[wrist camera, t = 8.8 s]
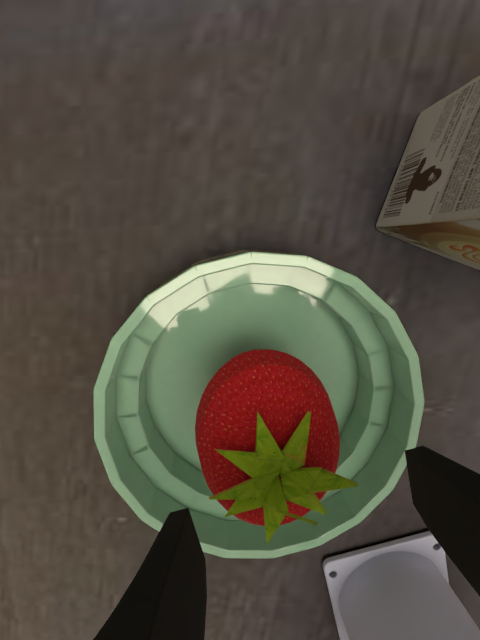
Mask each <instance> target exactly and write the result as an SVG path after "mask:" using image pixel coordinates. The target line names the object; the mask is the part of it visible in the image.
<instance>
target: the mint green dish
mask: <svg viewBox="0 0 480 640" xmlns="http://www.w3.org/2000/svg"><path fill="white" fill-rule="evenodd" d="M254 349H270V350H276V351H281V352H285V353H288V354H290V355H292V356H294V357H296V358H298V359H300V360H301V361H302V362H303V363H305V364H306V365H307V366H308V367H309V368H311V369H312V370H313V372H314V373H315V374H316V375H317V377H318V378H319V379H320V380H321V382H322V384H323V386H324V388H325V390H326V391H327V393H328V395H329V398H330V401H331V404H332V407H333V410H334V413H335V416H336V420H337V423H338V428H339V436H340V453H339V460H338V465H337V469H336V473H335V474H338V475H340V476H342V477H345V478H347V479H350V480H352V481H354V482H357V483H358V486H357V487H350V488H344V489H337V490H330V491H327V492H326V493H325V495H324V497H323V498H322V499H321V500H320V502H321V504H322V505H323V507H324V508H325V509H326V511H327V512H326V515H324V514H322V513H319V512H317V511H314V510H310V511H309V512H308V513H306V514H305V515H304V516H303V518H306V519H310V520H313V521H316V522H318V524H317V525H313V524H311V523H308V522H305V521H302V520H299V519H297V520H294V521H292V522H290V523H287V524H283V525H279V527H278V528H277V530H276V531H275V533H274V534H273V536H272V538H271V539H270V541H269V542H268V544H267V545H266V533H265V526H260V525H254V524H250V523H248V522H245V521H243V520H241V519H238V518H237V517H235V516H234V515H231V516H227V517H224V516H225V515H226V514H227V512H228V511H227V510H226V509H225V508H224V507H223V506H222V505H221V504H220V503H219V502H218V501H217V500H209V497H211V496H213V494H212V492H211V491H210V489H209V487H208V485H207V483H206V480H205V478H204V475H203V472H202V468H201V464H200V460H199V455H198V451H197V447H196V438H195V423H196V414H197V409H198V406H199V403H200V399H201V396H202V394H203V392H204V390H205V388H206V386H207V384H208V383H209V381H210V380H211V379H212V377H213V376H214V375H215V374H216V372H217V371H218V370H219V369H220V368H221V367H222V366H223V365H224V364H225V363H227V362H228V361H229V360H230V359H231V358H233V357H234V356H236V355H238V354H240V353H242V352H245V351H249V350H254ZM423 409H424V394H423V387H422V379H421V372H420V364H419V357H418V354H417V352H416V350H415V348H414V346H413V345H412V343H411V341H410V339H409V337H408V335H407V333H406V331H405V329H404V327H403V325H402V323H401V321H400V319H399V318H398V316H397V314H396V313H395V311H394V310H393V309H392V308H391V307H390V306H389V305H387V304H386V303H385V302H384V301H383V300H382V299H381V298H380V297H379V296H378V295H377V294H376V293H374V292H373V291H372V290H371V289H370V288H369V287H368V286H367V285H366V284H365V283H364V282H363V281H361V280H360V279H359V278H357V277H356V276H354V275H352V274H349V273H347V272H345V271H342V270H340V269H338V268H335V267H333V266H331V265H328V264H326V263H324V262H321V261H319V260H317V259H314V258H312V257H310V256H306V255H300V254H294V253H289V252H277V251H264V250H250V249H244V250H243V249H241V250H237V251H233V252H229V253H225V254H221V255H217V256H213V257H209V258H205V259H201V260H199V261H196V262H195V263H193V264H192V265H190V266H188V267H187V268H185V269H184V270H182V271H180V272H179V273H177V274H176V275H174V276H173V277H171V278H169V279H168V280H166V281H165V282H163V283H162V284H160V285H159V286H158V287H157V288H155V289H154V290H153V291H152V292H151V293H149V294H148V295H147V296H146V297H145V298H144V299H143V300H142V302H141V303H140V304H139V305H138V307H137V308H136V309H135V310H134V312H133V313H132V314H131V315H130V317H129V318H128V319H127V320H126V321H125V323H124V324H123V325H122V326H121V328H120V329H119V330H118V331H117V333H116V334H115V335H114V336H113V338H112V340H111V341H110V344H109V347H108V349H107V352H106V355H105V358H104V361H103V364H102V366H101V369H100V372H99V375H98V378H97V381H96V384H95V386H94V439H95V443H96V445H97V448H98V451H99V453H100V456H101V459H102V461H103V464H104V467H105V469H106V472H107V475H108V477H109V480H110V483H111V484H112V486H113V487H114V488H115V490H116V491H117V492H118V493H119V494H120V496H121V497H122V498H123V499H124V500H125V502H126V503H127V504H128V505H129V506H130V508H131V509H132V510H133V511H134V512H135V514H136V515H137V516H138V517H139V518H140V520H142V521H143V522H144V523H146V524H148V525H149V526H151V527H152V528H154V529H156V530H157V531H159V532H160V530H161V528H162V526H163V524H164V522H165V520H166V519H167V517H168V515H169V513H170V512H174V511H178V510H181V509H185V508H189V511H190V514H191V517H192V520H193V523H194V526H195V529H196V532H197V535H198V538H199V541H200V545H201V548H202V551H203V552H205V553H209V554H212V555H216V556H220V557H223V558H226V557H227V558H277V557H281V556H284V555H288V554H292V553H296V552H299V551H303V550H307V549H311V548H315V547H318V546H321V545H322V544H324V543H326V542H328V541H329V540H331V539H333V538H335V537H336V536H338V535H340V534H342V533H343V532H345V531H347V530H349V529H350V528H352V527H354V526H356V525H357V524H359V522H362V521H363V520H364V519H365V518H366V517H367V516H368V515H369V514H370V513H371V512H372V511H373V510H374V509H375V508H376V507H377V506H378V504H379V503H380V502H381V501H382V500H383V499H384V498H385V497H386V496H387V495H388V494H389V493H390V492H391V491H392V490H393V489H394V487H395V486H396V484H397V482H398V480H399V478H400V476H401V475H402V473H403V471H404V469H405V467H406V466H407V462H406V456H405V450H409V449H413V448H416V444H417V439H418V434H419V429H420V424H421V419H422V414H423Z"/></svg>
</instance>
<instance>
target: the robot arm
mask: <svg viewBox="0 0 480 640" xmlns="http://www.w3.org/2000/svg"><path fill="white" fill-rule="evenodd" d="M405 456H406V462H407V468H408V475H409V481H410V487H411V493H412V499H413V504H414V506H415V508H416V509H417V511H418V513H419V514H420V516H421V518H422V519H423V521H424V522H425V524H426V526H427V527H428V529H429V530H430V531H427V532H423V533H419V534H415V535H412V536H408V537H404V538H400V539H396V540H393V541H389V542H385V543H381V544H378V545H374V546H370V547H366V548H363V549H359V550H355V551H351V552H347V553H344V554H340V555H336V556H332V557H329V558H326V559H325V560H324V561H323V570H324V574H325V578H326V582H327V587H328V591H329V595H330V600H331V604H332V608H333V613H334V617H335V621H336V625H337V630H338V634H339V638H340V640H480V630H479V628H478V627H477V625H476V624H475V622H474V621H473V619H472V618H471V616H470V615H469V613H468V612H467V610H466V609H465V608H464V606H463V605H462V603H461V602H460V600H459V599H458V597H457V596H456V594H455V593H454V591H453V590H452V588H451V587H450V585H449V579H448V572H447V564H446V557H445V552H446V553H447V555H448V556H449V557H450V559H451V560H452V561H453V563H454V564H455V565H456V566H457V568H458V569H459V570H460V572H461V573H462V574H463V575H464V577H465V578H466V579H467V581H468V582H469V583H470V584H471V586H472V587H473V588H474V590H475V591H476V592H477V593H478V595H479V596H480V474H478V473H476V472H474V471H472V470H470V469H468V468H466V467H464V466H462V465H460V464H458V463H456V462H454V461H452V460H450V459H448V458H446V457H444V456H442V455H440V454H439V453H437V452H435V451H433V450H431V449H429V448H426V447H424V446H420V447H416V448H413V449H409V450H405ZM332 571H333V572H332ZM206 599H207V588H206V565H205V557H204V554H203V551H202V548H201V545H200V541H199V538H198V535H197V532H196V529H195V526H194V523H193V520H192V517H191V514H190V511H189V508H185V509H181V510H178V511H174V512H170V513H169V515H168V517H167V519H166V520H165V522H164V524H163V526H162V528H161V530H160V532H159V534H158V536H157V538H156V540H155V541H154V543H153V545H152V547H151V549H150V551H149V553H148V554H147V556H146V558H145V560H144V562H143V563H142V565H141V567H140V569H139V570H138V572H137V574H136V576H135V577H134V579H133V581H132V582H131V584H130V586H129V587H128V589H127V590H126V592H125V594H124V595H123V597H122V599H121V600H120V602H119V603H118V605H117V606H116V608H115V609H114V611H113V612H112V614H111V615H110V617H109V618H108V620H107V621H106V623H105V624H104V626H103V627H102V628H101V630H100V631H99V633H98V634H97V635H96V637H95V638H94V639H93V640H204V633H205V616H206Z"/></svg>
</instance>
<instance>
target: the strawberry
mask: <svg viewBox="0 0 480 640" xmlns="http://www.w3.org/2000/svg"><path fill="white" fill-rule="evenodd" d="M195 438H196V447H197V451H198V455H199V460H200V464H201V468H202V472H203V475H204V478H205V480H206V483H207V485H208V487H209V489H210V491H211V492H212V494H213V496H211V497H209V500H217V501H218V502H219V503H220V504H221V505H222V506H223V507H224V508H225V509H226V510H227V511H228V512H227V514H226V515H225V516H224V517H227V516H231V515H234V516H235V517H237V518H238V519H241V520H243V521H245V522H248V523H250V524H254V525H260V526H265V533H266V545H267V544H268V542H269V541H270V539H271V538H272V536H273V534H274V533H275V531H276V530H277V528H278V527H279V525H283V524H287V523H290V522H292V521H294V520H297V519H299V520H302V521H305V522H308V523H311V524H313V525H317V524H318V522H316V521H313V520H310V519H306V518H303V516H304V515H305V514H306V513H308V512H309V511H310V510H314V511H317V512H319V513H322V514H324V515H326V512H327V511H326V509H325V508H324V507H323V505H322V504H321V502H320V500H321V499H322V498H323V497H324V495H325V493H326V492H327V491H330V490H337V489H344V488H350V487H357V486H358V483H357V482H354V481H352V480H350V479H347V478H345V477H342V476H340V475H338V474H335V473H336V469H337V465H338V460H339V453H340V436H339V428H338V423H337V420H336V416H335V413H334V410H333V407H332V404H331V401H330V398H329V395H328V393H327V391H326V390H325V388H324V386H323V384H322V382H321V380H320V379H319V378H318V377H317V375H316V374H315V373H314V372H313V370H312V369H311V368H309V367H308V366H307V365H306V364H305V363H303V362H302V361H301V360H300V359H298V358H296V357H294V356H292V355H290V354H288V353H285V352H281V351H276V350H270V349H254V350H249V351H245V352H242V353H240V354H238V355H236V356H234V357H233V358H231V359H230V360H229V361H228V362H227V363H225V364H224V365H223V366H222V367H221V368H220V369H219V370H218V371H217V372H216V374H215V375H214V376H213V377H212V379H211V380H210V381H209V383H208V384H207V386H206V388H205V390H204V392H203V394H202V396H201V399H200V403H199V406H198V409H197V414H196V423H195Z"/></svg>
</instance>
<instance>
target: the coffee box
mask: <svg viewBox="0 0 480 640" xmlns="http://www.w3.org/2000/svg"><path fill="white" fill-rule="evenodd" d="M376 229H377V230H378V231H380V232H382V233H385V234H387V235H389V236H392V237H394V238H397V239H399V240H402V241H404V242H407V243H410V244H412V245H415V246H417V247H420V248H422V249H425V250H427V251H430V252H432V253H435V254H438V255H440V256H443V257H445V258H448V259H450V260H453V261H456V262H458V263H461V264H463V265H466V266H469V267H471V268H474V269H476V270H479V271H480V75H479V76H478V77H476V78H474V79H473V80H471V81H470V82H468V83H467V84H465V85H464V86H462V87H460V88H459V89H457V90H456V91H454V92H452V93H451V94H449V95H448V96H446V97H445V98H443V99H441V100H440V101H438V102H436V103H435V104H433V105H432V106H430V107H429V108H427V109H425V110H424V111H422V112H421V113H420V115H419V116H418V118H417V121H416V123H415V125H414V128H413V131H412V133H411V136H410V138H409V141H408V144H407V146H406V149H405V151H404V154H403V156H402V159H401V162H400V164H399V167H398V169H397V172H396V174H395V177H394V179H393V182H392V184H391V187H390V190H389V192H388V195H387V197H386V200H385V203H384V205H383V208H382V210H381V213H380V216H379V218H378V221H377V223H376Z"/></svg>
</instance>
